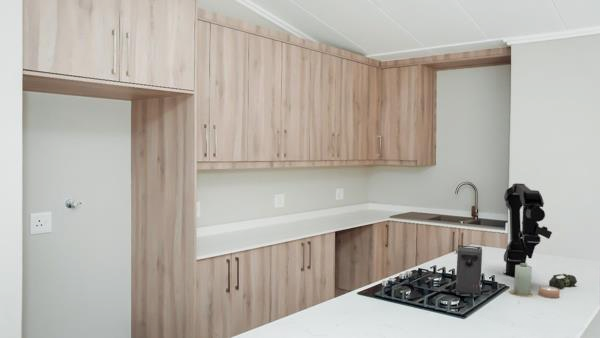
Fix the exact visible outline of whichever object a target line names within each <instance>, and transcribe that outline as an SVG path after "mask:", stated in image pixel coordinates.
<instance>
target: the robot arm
mask: <svg viewBox="0 0 600 338" xmlns="http://www.w3.org/2000/svg"><path fill="white" fill-rule="evenodd" d="M504 202H505V207H507V209H508V211H509V233H510V234H509V235H510V237H509V238H510V240H509V242H508V244H507V246H506V249H505V252H504V255H503V261H504V262H505V272H503V275H505V276H508V277H509V276H510V277H512V278H513V277H514V278H515V265H520V264H521V263H527V262H526V261H527V258H528V259H532V258H533V254H534V251H535V249H536V246H537V245H539V244H540V243H541V236H542V237H544V238H546V239H549V240H550V238H551V236H552V234H553V232H552V231H550V230H548V229H549V228H548V227H546V226H544V225H543V226H541V227H540V226H539V225H540V224H539V223H538V222H542V221H544V219H545V217H546V213H545V211H544V209H543V208H544V204H545V202H544V199H543V196H542V194H541V193H540V191H539V190H535V189H533V190H532V189H530V188H529V187H528V186H526V183H525V184H524V183H518V182H517V183H513V184H512V186H511V187H509V188H507V189H506V190H505V193H504ZM521 208H522V219H521ZM521 220H522V221H521ZM521 224H522V227H521Z"/></svg>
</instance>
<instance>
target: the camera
mask: <svg viewBox="0 0 600 338" xmlns="http://www.w3.org/2000/svg"><path fill="white" fill-rule="evenodd" d="M453 253H454V254H456V255H457V257H456V275H455V289H456V292H459V293H460V294H471V293H472V292H474V294H475V295H478V296H480V297H481V286H482V283H481V282H482V266H483V265H482V264H483V263H482V261H483V247H482V246H473V245H471V246H470V245H462V244H458V245H457V249H455V250H453Z"/></svg>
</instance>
